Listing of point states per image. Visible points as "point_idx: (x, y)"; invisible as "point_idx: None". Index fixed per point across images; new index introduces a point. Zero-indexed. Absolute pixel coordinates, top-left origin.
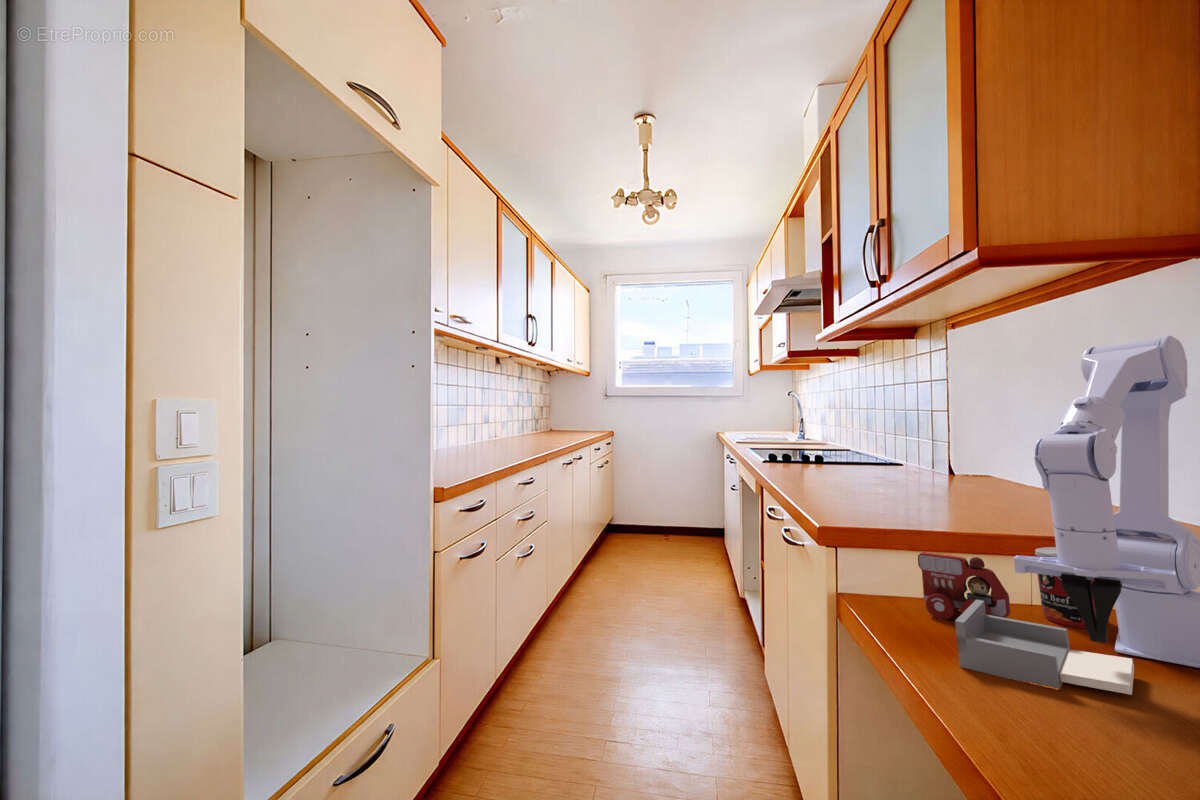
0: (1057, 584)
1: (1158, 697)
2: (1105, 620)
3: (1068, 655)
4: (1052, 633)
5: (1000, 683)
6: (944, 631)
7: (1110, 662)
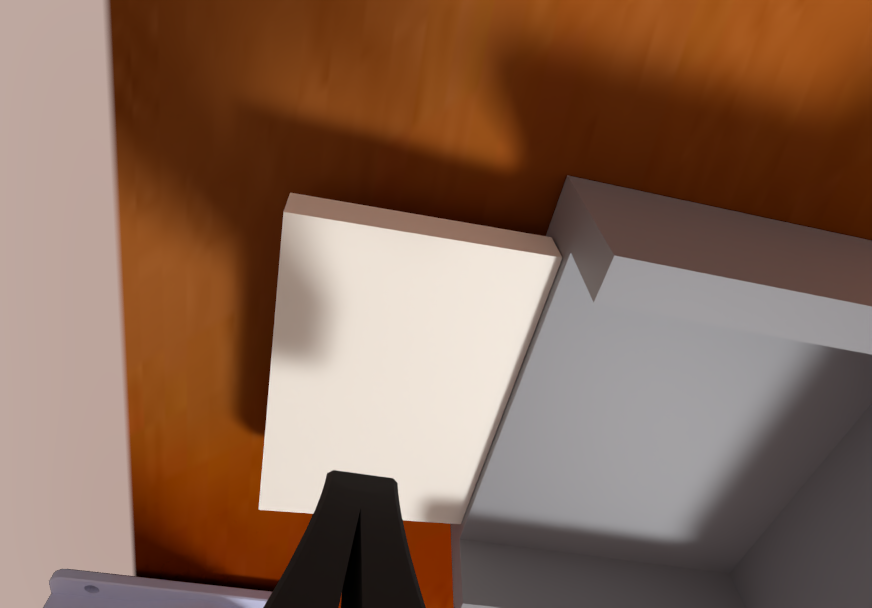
0: None
1: (213, 306)
2: (285, 596)
3: (474, 467)
4: (510, 585)
5: (818, 140)
6: None
7: (334, 451)
